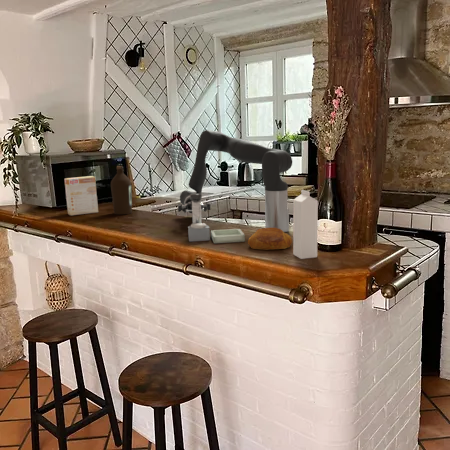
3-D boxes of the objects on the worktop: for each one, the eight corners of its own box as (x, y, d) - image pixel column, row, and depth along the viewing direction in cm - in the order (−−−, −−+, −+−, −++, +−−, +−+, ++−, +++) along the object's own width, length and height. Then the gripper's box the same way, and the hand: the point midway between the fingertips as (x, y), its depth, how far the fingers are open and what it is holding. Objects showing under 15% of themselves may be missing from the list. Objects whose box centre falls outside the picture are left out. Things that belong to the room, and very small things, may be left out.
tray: (239, 234, 190) (239, 228, 189) (245, 241, 178) (244, 235, 178) (210, 236, 188) (210, 230, 188) (213, 243, 177) (213, 236, 176)
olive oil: (112, 215, 242) (109, 167, 237) (113, 212, 252) (109, 165, 247) (133, 214, 244) (130, 166, 239) (133, 210, 255) (129, 165, 250)
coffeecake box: (95, 210, 259) (91, 175, 255) (98, 212, 253) (95, 176, 249) (67, 213, 252) (63, 177, 248) (70, 215, 246) (66, 178, 242)
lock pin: (202, 233, 194) (201, 193, 190) (203, 236, 189) (202, 194, 186) (191, 234, 193) (189, 193, 190) (192, 236, 189) (190, 195, 185)
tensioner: (206, 232, 195) (206, 218, 194) (209, 240, 181) (209, 225, 180) (187, 234, 194) (186, 219, 193) (189, 241, 180) (188, 226, 179)
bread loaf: (289, 257, 162) (292, 235, 160) (245, 250, 165) (247, 229, 163) (291, 246, 176) (294, 225, 174) (250, 240, 179) (253, 219, 177)
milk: (300, 259, 152) (300, 192, 148) (293, 254, 158) (292, 190, 153) (317, 257, 154) (318, 191, 149) (309, 252, 160) (309, 188, 155)
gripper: (176, 196, 213) (178, 201, 197) (207, 195, 215) (211, 200, 199) (177, 212, 215) (178, 219, 199) (208, 211, 216) (212, 217, 201)
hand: (195, 209), depth 199 cm, fingers open, 8 cm apart
